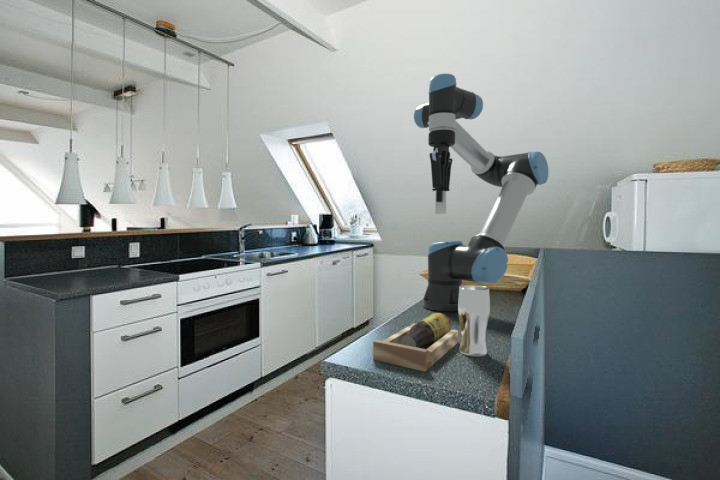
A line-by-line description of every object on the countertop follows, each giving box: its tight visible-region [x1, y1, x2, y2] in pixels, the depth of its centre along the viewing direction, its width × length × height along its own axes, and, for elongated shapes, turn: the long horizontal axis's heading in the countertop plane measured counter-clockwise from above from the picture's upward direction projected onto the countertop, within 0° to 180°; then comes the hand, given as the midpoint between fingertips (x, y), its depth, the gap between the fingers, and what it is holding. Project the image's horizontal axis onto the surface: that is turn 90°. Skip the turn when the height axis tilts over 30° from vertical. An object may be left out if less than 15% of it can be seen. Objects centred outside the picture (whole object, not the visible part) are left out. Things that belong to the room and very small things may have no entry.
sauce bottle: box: [400, 312, 452, 349], centre depth 90 cm, size 7×6×20 cm
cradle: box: [372, 323, 459, 372], centre depth 87 cm, size 22×12×4 cm, turn 148°
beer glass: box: [457, 284, 491, 358], centre depth 85 cm, size 7×7×15 cm
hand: (440, 213), depth 108 cm, fingers closed
